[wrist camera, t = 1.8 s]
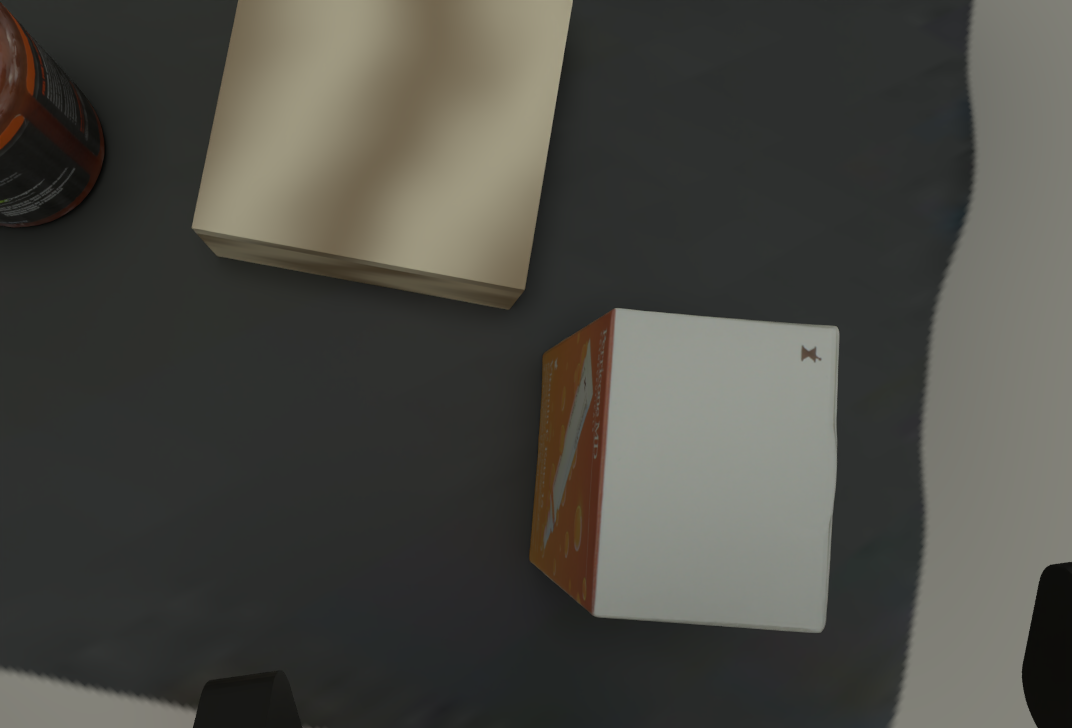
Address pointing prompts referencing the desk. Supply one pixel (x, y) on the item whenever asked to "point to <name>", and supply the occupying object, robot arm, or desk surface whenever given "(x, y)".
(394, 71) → the birch riser
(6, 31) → the supplement bottle
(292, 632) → the desk surface
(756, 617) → the small box
